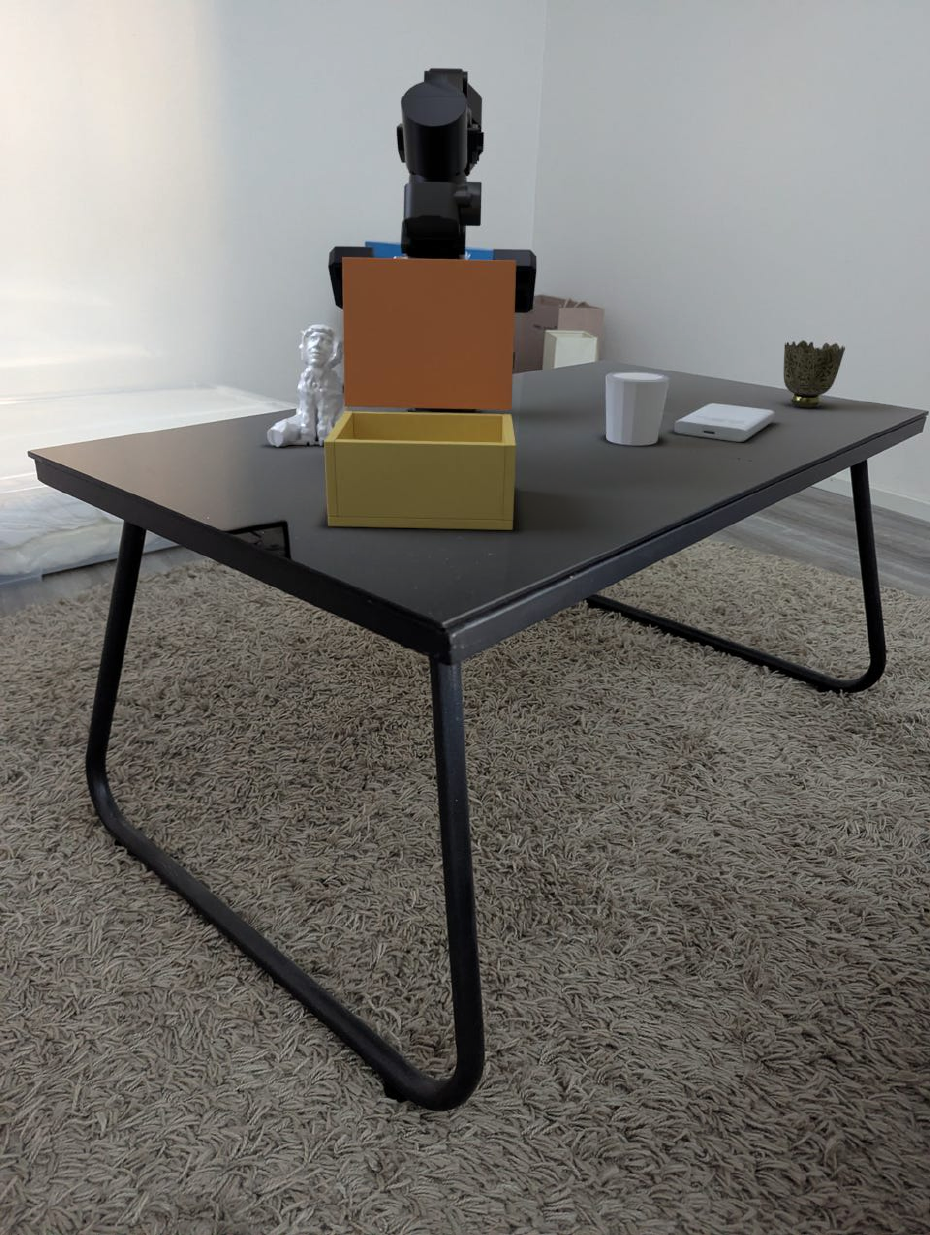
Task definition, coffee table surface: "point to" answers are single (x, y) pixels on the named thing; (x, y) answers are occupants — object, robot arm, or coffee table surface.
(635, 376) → the shot glass
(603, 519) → the coffee table surface
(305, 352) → the sitting furry creature
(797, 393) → the cup
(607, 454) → the coffee table surface
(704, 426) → the hard drive
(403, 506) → the open yellow box
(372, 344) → the lid
